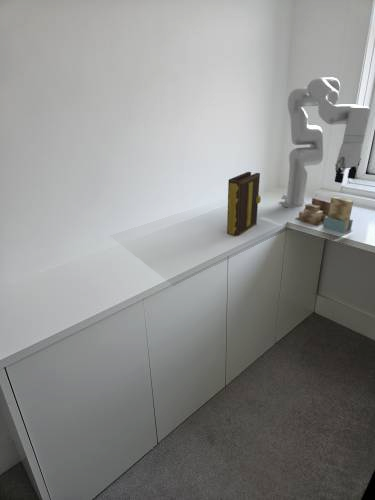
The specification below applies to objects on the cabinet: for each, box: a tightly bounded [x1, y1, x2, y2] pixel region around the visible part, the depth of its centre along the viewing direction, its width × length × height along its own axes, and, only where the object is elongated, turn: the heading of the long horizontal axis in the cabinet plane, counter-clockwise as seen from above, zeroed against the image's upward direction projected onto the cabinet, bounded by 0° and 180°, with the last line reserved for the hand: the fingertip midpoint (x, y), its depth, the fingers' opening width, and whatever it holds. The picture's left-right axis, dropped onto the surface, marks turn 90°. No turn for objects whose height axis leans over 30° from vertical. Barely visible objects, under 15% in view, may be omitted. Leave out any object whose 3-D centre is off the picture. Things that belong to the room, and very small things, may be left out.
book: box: [226, 171, 262, 237], centre depth 151 cm, size 22×8×25 cm, turn 143°
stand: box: [322, 216, 354, 234], centre depth 149 cm, size 10×9×6 cm
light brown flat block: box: [328, 196, 354, 232], centre depth 147 cm, size 9×2×14 cm, turn 35°
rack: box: [294, 197, 331, 227], centre depth 160 cm, size 13×14×9 cm
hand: (344, 180), depth 141 cm, fingers open, 9 cm apart
